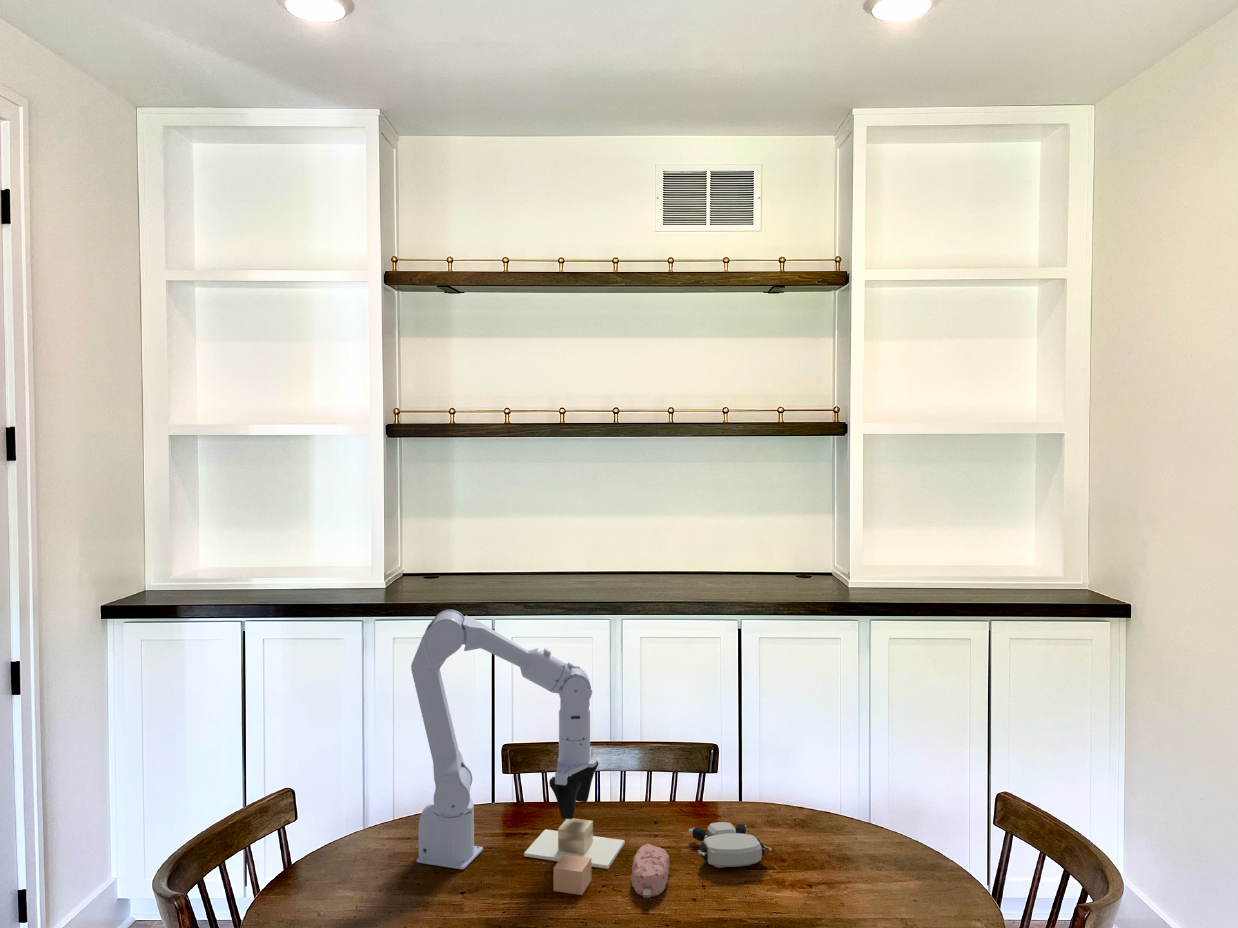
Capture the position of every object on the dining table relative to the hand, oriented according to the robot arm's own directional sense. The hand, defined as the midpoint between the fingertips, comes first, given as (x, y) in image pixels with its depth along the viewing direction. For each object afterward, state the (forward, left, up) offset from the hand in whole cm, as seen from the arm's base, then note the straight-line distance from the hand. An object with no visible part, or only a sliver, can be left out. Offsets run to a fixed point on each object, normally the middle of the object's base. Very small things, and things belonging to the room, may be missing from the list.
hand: (574, 809), depth 157 cm
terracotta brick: (+4, -12, -8) cm, 15 cm away
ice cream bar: (+16, -8, -8) cm, 20 cm away
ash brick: (0, 0, -7) cm, 7 cm away
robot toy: (+27, +6, -8) cm, 29 cm away
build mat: (0, 0, -8) cm, 8 cm away
